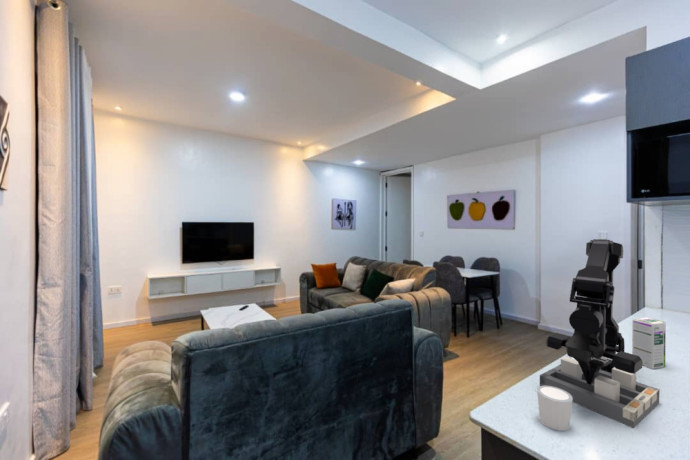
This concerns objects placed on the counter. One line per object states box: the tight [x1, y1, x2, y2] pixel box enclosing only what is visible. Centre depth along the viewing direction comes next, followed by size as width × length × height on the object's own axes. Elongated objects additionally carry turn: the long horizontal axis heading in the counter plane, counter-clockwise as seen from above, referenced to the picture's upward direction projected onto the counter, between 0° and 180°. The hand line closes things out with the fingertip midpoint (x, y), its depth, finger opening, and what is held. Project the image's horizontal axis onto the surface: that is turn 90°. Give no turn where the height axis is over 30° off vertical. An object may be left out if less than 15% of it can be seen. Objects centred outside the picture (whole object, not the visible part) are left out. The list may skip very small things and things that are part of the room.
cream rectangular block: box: [594, 375, 620, 402], centre depth 77 cm, size 3×4×5 cm
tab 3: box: [612, 367, 637, 391], centre depth 82 cm, size 3×4×5 cm
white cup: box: [536, 385, 573, 432], centre depth 71 cm, size 7×7×7 cm
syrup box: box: [631, 316, 667, 370], centre depth 100 cm, size 6×6×14 cm
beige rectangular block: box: [560, 356, 582, 379], centre depth 88 cm, size 3×4×5 cm
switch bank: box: [539, 363, 661, 429], centre depth 83 cm, size 18×20×4 cm
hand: (589, 383), depth 80 cm, fingers closed
